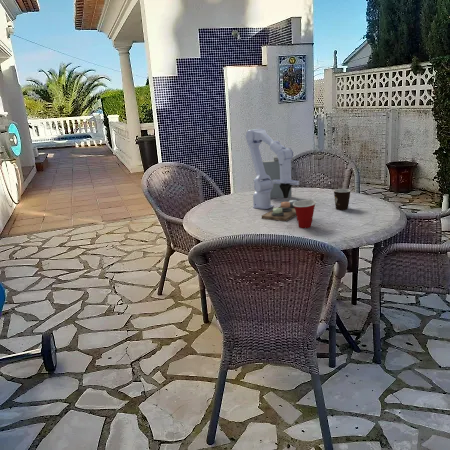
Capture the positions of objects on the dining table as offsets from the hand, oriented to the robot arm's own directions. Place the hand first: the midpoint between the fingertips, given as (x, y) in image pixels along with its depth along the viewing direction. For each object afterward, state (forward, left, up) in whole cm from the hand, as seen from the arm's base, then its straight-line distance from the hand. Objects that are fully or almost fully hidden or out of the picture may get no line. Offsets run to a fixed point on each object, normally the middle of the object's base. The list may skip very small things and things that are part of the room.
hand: (286, 197), depth 224 cm
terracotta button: (0, 0, -5) cm, 5 cm away
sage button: (0, -9, -6) cm, 11 cm away
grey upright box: (-22, +32, -9) cm, 39 cm away
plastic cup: (+19, -18, -9) cm, 28 cm away
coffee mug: (+23, +21, -9) cm, 32 cm away
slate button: (0, +8, -6) cm, 10 cm away
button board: (0, 0, -8) cm, 8 cm away
